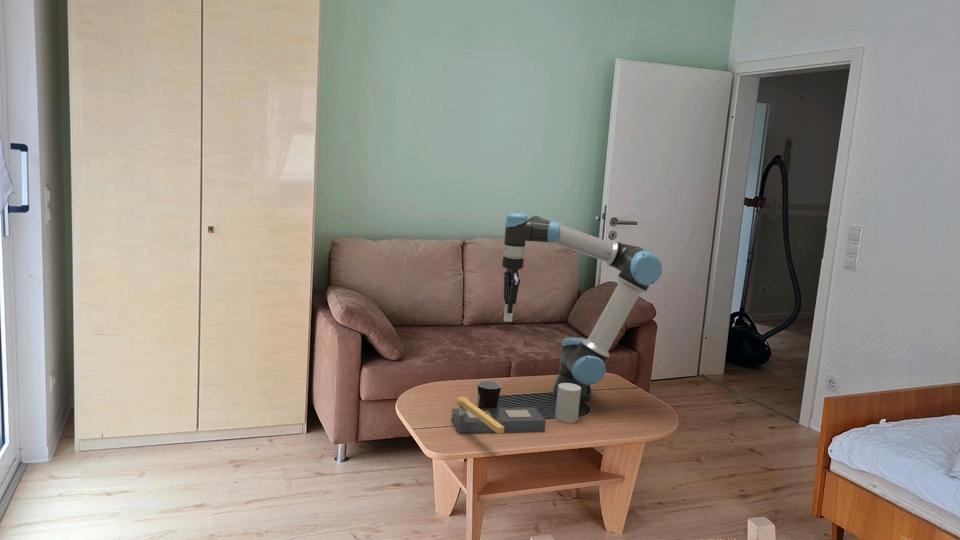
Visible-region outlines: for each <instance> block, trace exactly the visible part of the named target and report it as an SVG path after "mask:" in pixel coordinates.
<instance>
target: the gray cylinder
mask: <svg viewBox="0 0 960 540" xmlns="http://www.w3.org/2000/svg"><path fill="white" fill-rule="evenodd" d="M580 393H581V387H580V386H578V385H576V384H572V383H561V384H559V385H558V392H557V397H556V404H555V413H554V418H556V419H557V421H558V420H559V421H558V422H561V421H562V422H561V423H565V422H568V423H567V424H573V423H572V422H574V423H577V422H578V418H579V412H580V411H579V410H580V409H579V408H580V403H581V402H580ZM556 419H555V420H556ZM576 421H577V422H576ZM570 422H571V423H570Z"/></svg>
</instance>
